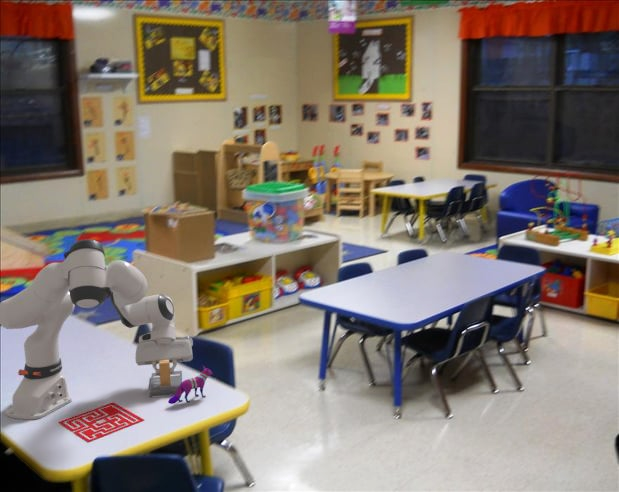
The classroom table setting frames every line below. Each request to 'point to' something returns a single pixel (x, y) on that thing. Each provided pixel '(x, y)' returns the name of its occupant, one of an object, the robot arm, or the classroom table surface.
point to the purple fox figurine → (191, 386)
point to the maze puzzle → (89, 432)
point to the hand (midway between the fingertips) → (164, 373)
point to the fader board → (165, 389)
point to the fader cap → (164, 372)
